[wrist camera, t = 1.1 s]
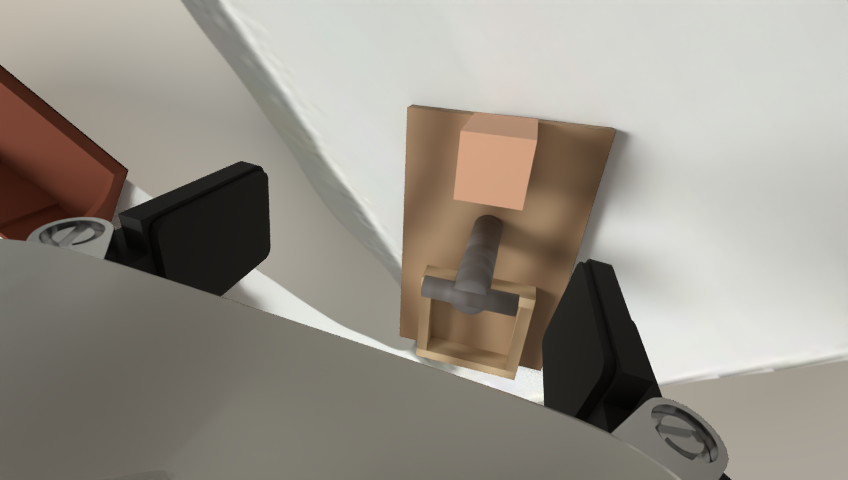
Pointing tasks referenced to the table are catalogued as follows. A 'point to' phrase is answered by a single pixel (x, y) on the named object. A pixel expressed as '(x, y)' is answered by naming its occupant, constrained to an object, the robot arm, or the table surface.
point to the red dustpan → (48, 166)
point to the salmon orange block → (495, 160)
